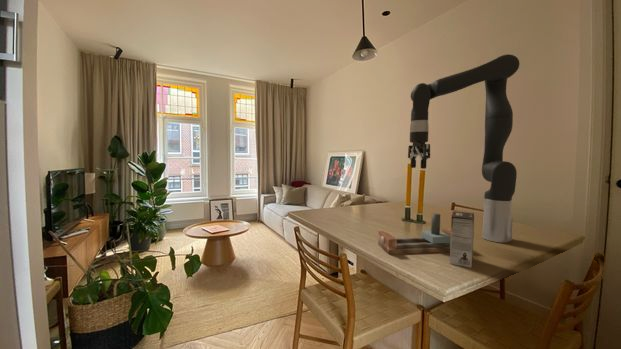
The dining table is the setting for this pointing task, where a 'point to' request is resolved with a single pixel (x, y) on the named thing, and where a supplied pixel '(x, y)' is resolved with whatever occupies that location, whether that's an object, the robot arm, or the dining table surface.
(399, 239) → the rail
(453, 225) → the coffee box
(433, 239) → the grey post blue base
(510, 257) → the dining table surface
